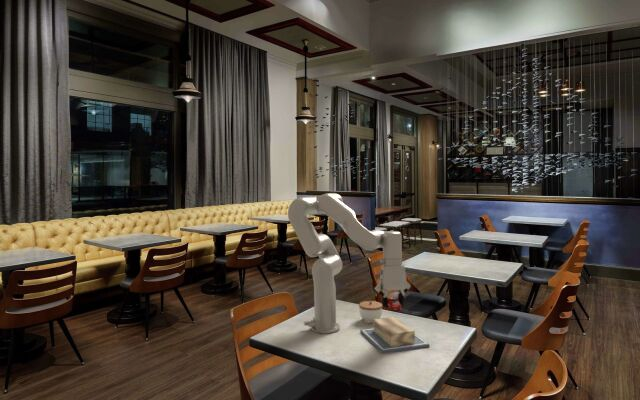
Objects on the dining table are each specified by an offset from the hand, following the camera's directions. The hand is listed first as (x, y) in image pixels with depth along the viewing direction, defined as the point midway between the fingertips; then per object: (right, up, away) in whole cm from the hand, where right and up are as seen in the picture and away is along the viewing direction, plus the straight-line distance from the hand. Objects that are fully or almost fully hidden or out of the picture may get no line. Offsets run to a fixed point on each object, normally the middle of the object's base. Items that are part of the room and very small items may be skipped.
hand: (393, 305), depth 157 cm
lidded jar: (-6, -14, +23) cm, 27 cm away
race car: (0, -1, 0) cm, 1 cm away
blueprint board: (0, -14, +1) cm, 14 cm away
